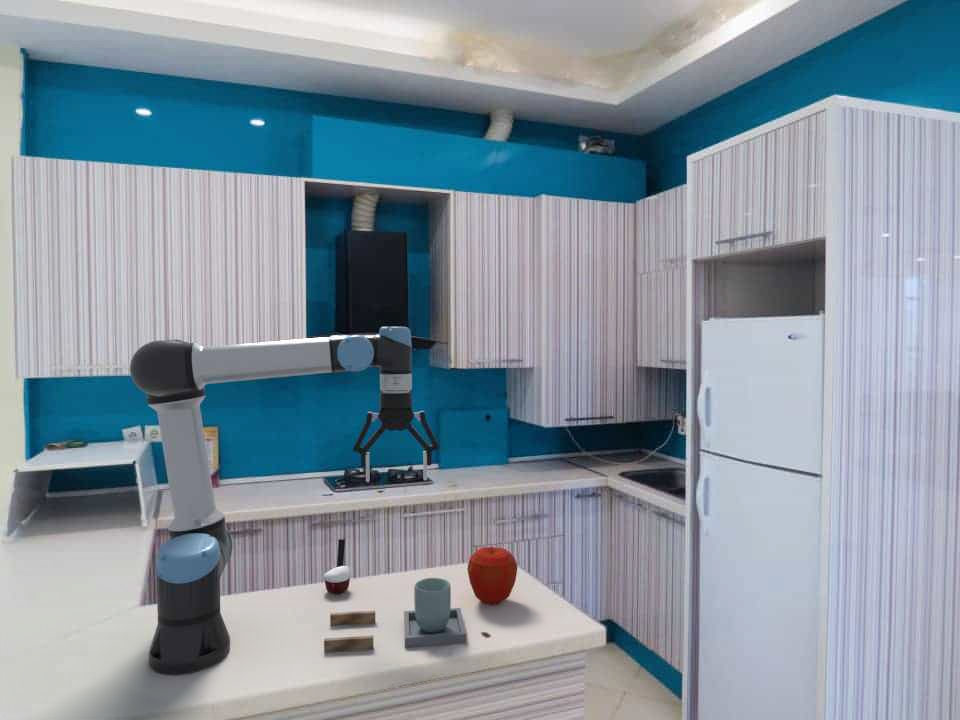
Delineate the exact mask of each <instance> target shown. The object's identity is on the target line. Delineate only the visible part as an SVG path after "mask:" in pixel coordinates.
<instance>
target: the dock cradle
mask: <svg viewBox="0 0 960 720" xmlns="http://www.w3.org/2000/svg"><path fill="white" fill-rule="evenodd" d="M462 613H463V612H462V609H461V607H455V608H453V607H452V608H451V607H450V617H449V622H448V624H447V626H446V627H445V628H444V629H443V630H442V631H440V632H437V633H427V632H424V631H422V630H421V629H420V628H419V627H418V625H417V622H416V618H415V610H403V623H404V624H403V626H404V627H403V628H404V630H403V631H404V648H414V647H415V648H418V647H430V646H431V647H432V646H433V647H434V646H435V647H436V646H446V645H462V644H463V645H464V644H467V630H466V627H465V622H464V616H463V614H462Z"/></svg>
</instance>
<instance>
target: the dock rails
mask: <svg viewBox="0 0 960 720" xmlns="http://www.w3.org/2000/svg"><path fill="white" fill-rule="evenodd" d="M329 617H330V618H329V623H330V624H329V625H330V627H336V626H337V627H338V626H340V627H341V626H354V625H369V624H370V625H373V624H376V610H365V611H348V612H347V611H346V612H344V611H343V612H331V613H330V614H329ZM374 644H375V643H374V635H360V636H359V635H358V636H343V637H330V638H328V637H327V638H324V640H323V651H324V653H326V654H327V653H339V652H340V653H341V652H356V651H370V650H374V646H375V645H374Z"/></svg>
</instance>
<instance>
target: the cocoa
mask: <svg viewBox="0 0 960 720" xmlns="http://www.w3.org/2000/svg"><path fill="white" fill-rule="evenodd" d="M337 542H338V543H337V555H336V556H337V561H336V567H333V568H331V569H330V570H328V571H327V572H325V573H324V575H323V578H324V585H325V589H326V591H327V592H328V593H329V594H331V595H335V596H338V595H342V594H344V593H345V592H347V590H348V589H349V586H350V581H351V578H350V576H351V568H350V567H349V566H347V565H344V564H345V562H344V560H345V545H346V543H345V542H346V539H345V538H338V541H337Z"/></svg>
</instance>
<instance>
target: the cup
mask: <svg viewBox="0 0 960 720" xmlns="http://www.w3.org/2000/svg"><path fill="white" fill-rule="evenodd" d="M413 588H414V589H413V590H414V591H413V596H414V597H413V598H414V599H413V603H414V604H413V605H414V611H415V618H416V622H417V625H418V627H419V628H420V629H421V630H422V631H424V632H427V633H437V632H440V631H442V630H443V629H444V628H445V627H446V626H447V624H448V622H449V617H450V608H451V603H452V602H451V601H452V599H451V595H452V593H451V583H450V582H449V581H448V580H447V579H444V578H439V577H428V578H424V579H420V580H418V581H416V583H415V584H414V587H413Z"/></svg>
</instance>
